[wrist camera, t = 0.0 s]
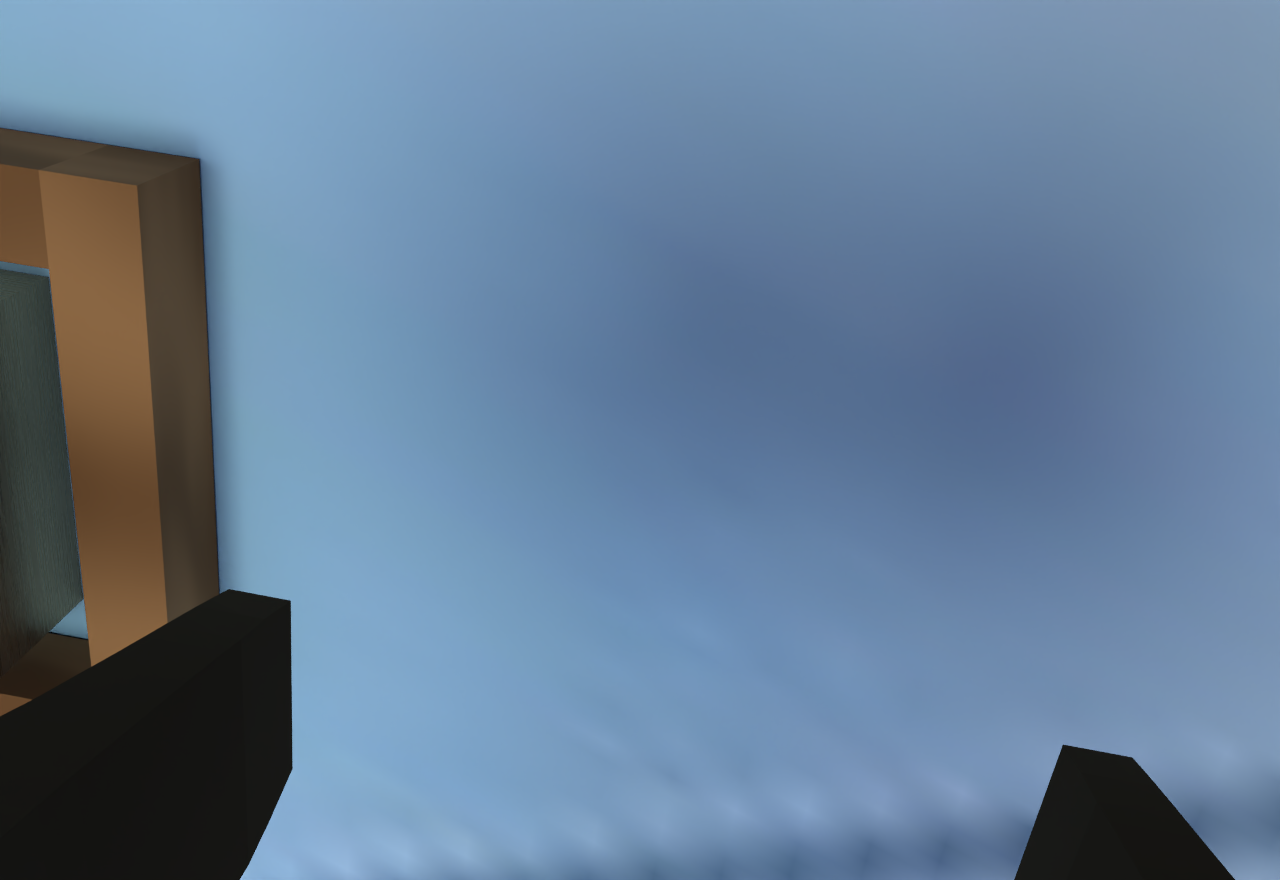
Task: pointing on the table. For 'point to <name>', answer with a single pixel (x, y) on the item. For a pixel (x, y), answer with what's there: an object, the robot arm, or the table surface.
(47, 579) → the turner
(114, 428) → the frame
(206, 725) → the robot arm
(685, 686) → the table surface
